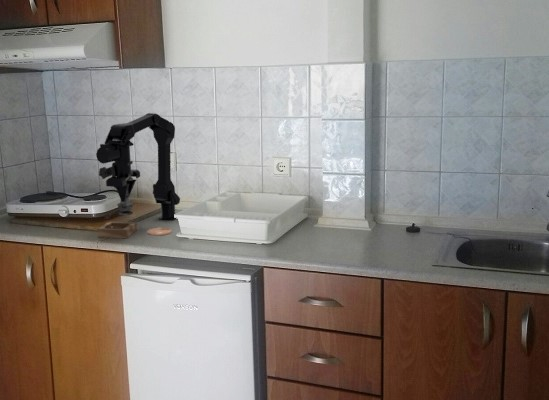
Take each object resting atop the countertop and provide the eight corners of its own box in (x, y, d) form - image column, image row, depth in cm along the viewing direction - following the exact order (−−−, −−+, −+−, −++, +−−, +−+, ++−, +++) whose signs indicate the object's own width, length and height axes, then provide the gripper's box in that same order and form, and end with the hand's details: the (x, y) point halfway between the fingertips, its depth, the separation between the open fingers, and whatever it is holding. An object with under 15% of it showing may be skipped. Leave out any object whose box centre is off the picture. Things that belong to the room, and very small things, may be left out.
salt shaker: (131, 215, 228) (129, 183, 225) (115, 215, 228) (113, 183, 225) (135, 211, 233) (133, 180, 230) (120, 211, 234) (118, 180, 231)
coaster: (152, 228, 238) (151, 227, 238) (174, 229, 237) (174, 227, 237) (144, 234, 230) (144, 233, 230) (167, 235, 229) (167, 234, 228)
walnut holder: (109, 229, 238) (109, 221, 237) (136, 230, 236) (136, 222, 236) (97, 237, 227) (97, 229, 226) (126, 238, 226) (126, 230, 225)
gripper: (111, 154, 236) (114, 194, 240) (90, 163, 218) (93, 205, 222) (139, 155, 234) (141, 195, 238) (120, 163, 216) (123, 206, 220)
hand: (125, 200), depth 229 cm, fingers closed on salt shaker, 3 cm apart
